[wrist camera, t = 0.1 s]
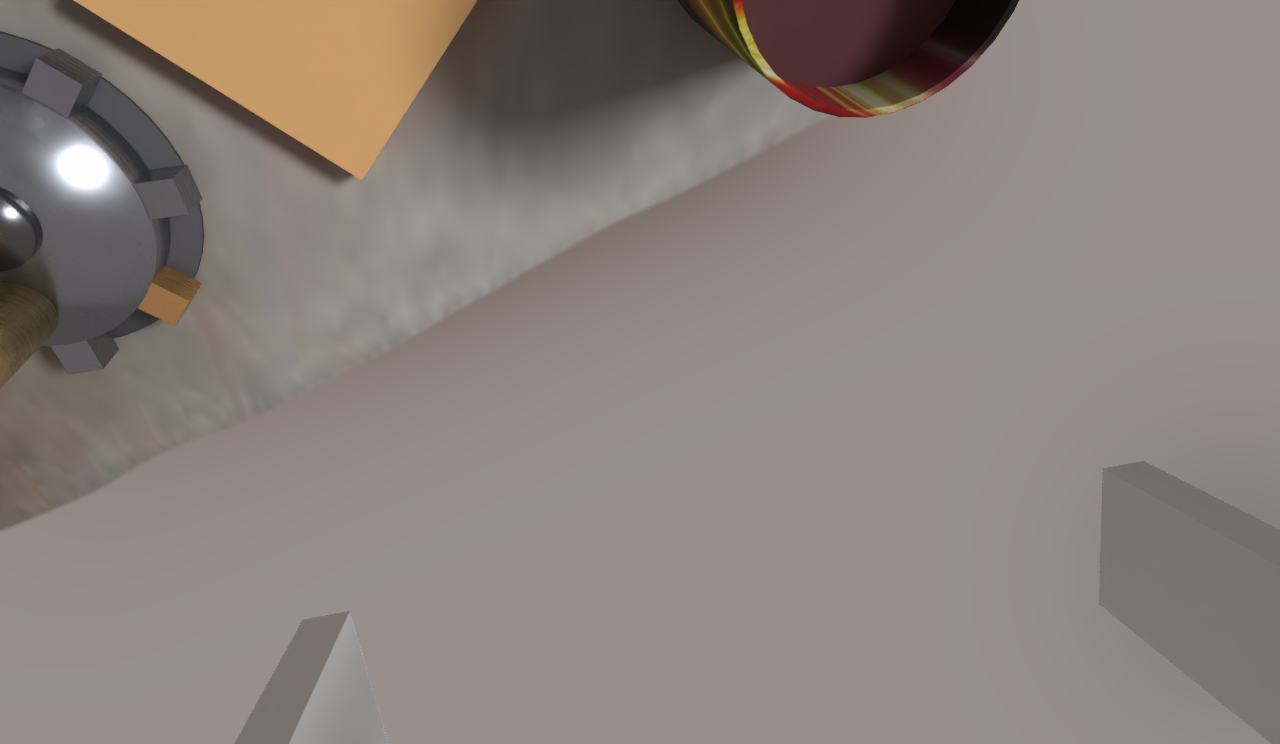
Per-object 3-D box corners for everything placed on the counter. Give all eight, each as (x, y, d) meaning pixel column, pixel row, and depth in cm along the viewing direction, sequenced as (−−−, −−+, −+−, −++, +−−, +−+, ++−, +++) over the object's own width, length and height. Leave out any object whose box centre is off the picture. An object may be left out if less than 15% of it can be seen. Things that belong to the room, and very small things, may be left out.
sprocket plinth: (-129, -61, 28) (-135, -61, 28) (258, 168, 34) (256, 170, 34) (-221, 234, 33) (-226, 237, 33) (132, 385, 39) (130, 388, 39)
